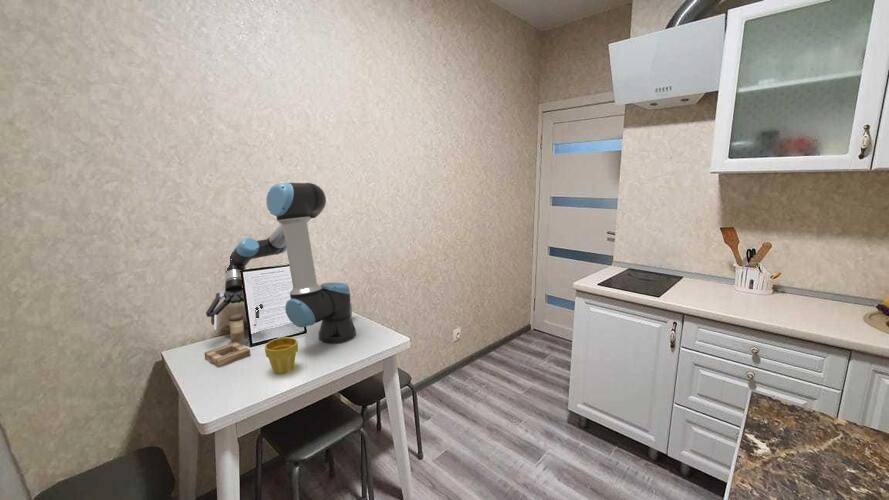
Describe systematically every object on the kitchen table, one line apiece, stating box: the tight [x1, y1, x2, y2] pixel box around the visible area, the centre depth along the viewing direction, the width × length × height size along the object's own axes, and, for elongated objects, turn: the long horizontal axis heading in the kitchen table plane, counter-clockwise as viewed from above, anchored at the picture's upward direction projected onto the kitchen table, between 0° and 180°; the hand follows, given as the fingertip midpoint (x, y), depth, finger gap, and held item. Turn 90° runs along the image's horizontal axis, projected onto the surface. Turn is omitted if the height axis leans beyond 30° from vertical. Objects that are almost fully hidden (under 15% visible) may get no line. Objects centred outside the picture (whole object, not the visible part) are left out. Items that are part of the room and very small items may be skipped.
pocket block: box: [203, 342, 251, 368], centre depth 134 cm, size 11×11×2 cm
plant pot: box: [264, 336, 299, 375], centre depth 125 cm, size 10×10×10 cm
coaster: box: [227, 338, 249, 346], centre depth 146 cm, size 7×7×1 cm
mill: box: [227, 311, 246, 344], centre depth 145 cm, size 5×5×12 cm
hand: (235, 328), depth 142 cm, fingers open, 13 cm apart
